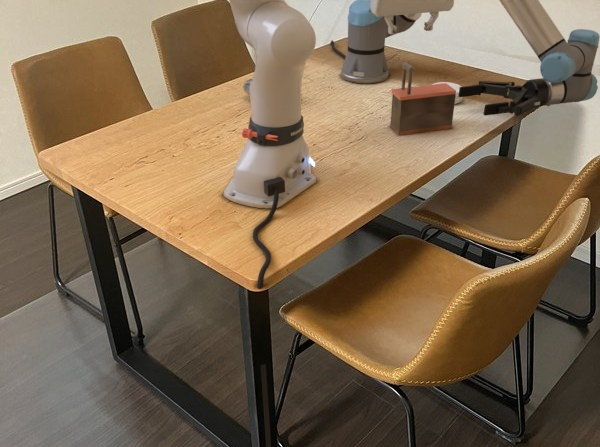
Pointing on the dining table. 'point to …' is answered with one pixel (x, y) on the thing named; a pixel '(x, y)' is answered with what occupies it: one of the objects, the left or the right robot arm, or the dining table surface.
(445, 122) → the chest
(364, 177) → the dining table surface
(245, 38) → the left robot arm
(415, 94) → the lid
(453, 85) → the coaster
